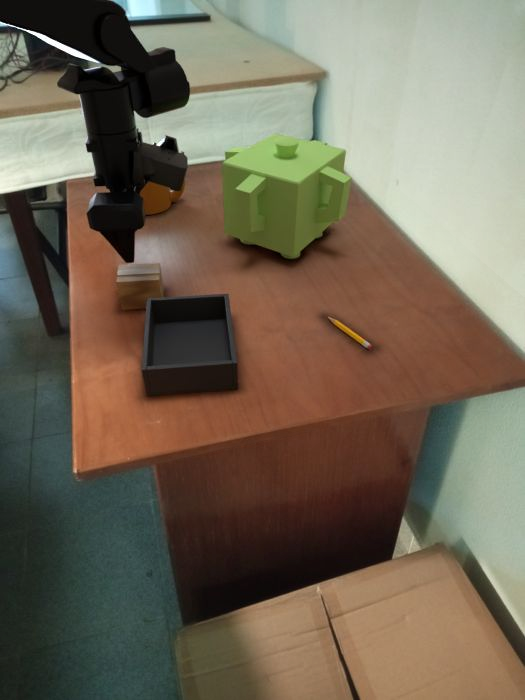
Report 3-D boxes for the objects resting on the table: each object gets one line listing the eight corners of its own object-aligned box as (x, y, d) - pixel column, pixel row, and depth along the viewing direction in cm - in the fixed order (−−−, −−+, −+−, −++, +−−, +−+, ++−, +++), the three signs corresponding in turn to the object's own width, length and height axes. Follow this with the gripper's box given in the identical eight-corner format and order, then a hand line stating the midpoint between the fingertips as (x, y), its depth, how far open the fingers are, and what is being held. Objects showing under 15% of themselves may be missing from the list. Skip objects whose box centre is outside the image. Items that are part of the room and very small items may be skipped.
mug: (186, 214, 96) (182, 168, 90) (123, 216, 95) (115, 170, 89) (187, 194, 102) (183, 150, 96) (128, 196, 101) (120, 151, 95)
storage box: (266, 196, 102) (268, 107, 91) (367, 225, 93) (383, 131, 82) (190, 248, 86) (180, 148, 75) (303, 289, 78) (312, 184, 66)
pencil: (368, 350, 67) (369, 347, 67) (325, 319, 72) (325, 315, 72) (372, 348, 68) (373, 344, 67) (329, 317, 73) (329, 313, 72)
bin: (146, 396, 60) (141, 370, 57) (151, 323, 71) (146, 298, 68) (238, 389, 61) (237, 362, 58) (229, 318, 72) (228, 293, 69)
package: (122, 310, 73) (115, 281, 70) (124, 292, 76) (118, 264, 73) (163, 307, 74) (159, 279, 70) (163, 290, 77) (159, 262, 73)
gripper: (180, 154, 52) (192, 279, 62) (180, 102, 66) (189, 211, 76) (71, 158, 51) (102, 284, 61) (94, 103, 64) (116, 214, 75)
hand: (132, 244), depth 68 cm, fingers open, 9 cm apart
